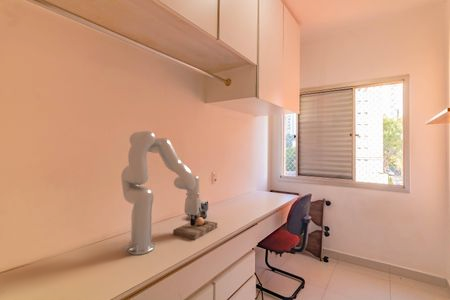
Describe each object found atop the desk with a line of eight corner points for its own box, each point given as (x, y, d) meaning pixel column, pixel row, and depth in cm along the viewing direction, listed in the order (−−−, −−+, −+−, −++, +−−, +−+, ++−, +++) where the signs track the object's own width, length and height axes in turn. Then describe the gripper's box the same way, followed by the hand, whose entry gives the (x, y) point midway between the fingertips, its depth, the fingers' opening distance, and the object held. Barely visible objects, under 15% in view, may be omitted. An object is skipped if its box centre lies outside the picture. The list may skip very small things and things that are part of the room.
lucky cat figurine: (187, 216, 171) (192, 198, 177) (201, 220, 175) (206, 203, 180) (193, 215, 158) (199, 196, 164) (208, 220, 162) (213, 201, 168)
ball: (205, 217, 141) (205, 224, 142) (200, 215, 145) (200, 222, 145) (199, 219, 138) (199, 227, 138) (194, 217, 141) (194, 225, 142)
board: (194, 240, 125) (194, 234, 125) (173, 234, 133) (173, 229, 133) (217, 227, 146) (217, 222, 146) (197, 223, 154) (197, 219, 154)
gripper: (179, 195, 140) (179, 224, 140) (199, 198, 132) (199, 229, 132) (187, 193, 146) (187, 221, 146) (206, 195, 139) (206, 225, 139)
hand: (193, 225), depth 139 cm, fingers closed
